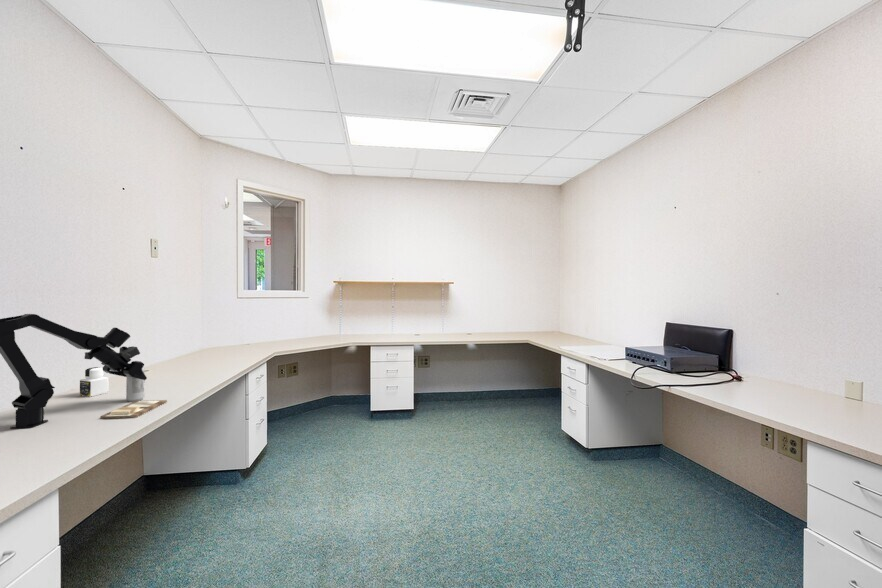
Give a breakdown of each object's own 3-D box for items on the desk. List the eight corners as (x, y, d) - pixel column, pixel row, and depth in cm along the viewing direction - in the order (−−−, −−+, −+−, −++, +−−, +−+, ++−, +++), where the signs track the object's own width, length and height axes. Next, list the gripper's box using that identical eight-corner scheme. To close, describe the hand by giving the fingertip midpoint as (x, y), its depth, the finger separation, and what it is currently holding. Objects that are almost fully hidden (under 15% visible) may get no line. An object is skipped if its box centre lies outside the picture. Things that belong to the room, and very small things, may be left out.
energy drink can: (140, 397, 161) (140, 363, 161) (147, 399, 158) (147, 364, 158) (123, 400, 155) (123, 365, 155) (130, 403, 152) (130, 367, 152)
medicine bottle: (79, 395, 162) (79, 368, 162) (98, 391, 169) (98, 365, 169) (90, 397, 160) (90, 370, 160) (108, 392, 167) (109, 366, 167)
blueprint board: (135, 418, 135) (135, 411, 135) (99, 419, 133) (99, 413, 133) (167, 402, 154) (167, 396, 154) (135, 403, 152) (135, 397, 152)
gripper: (139, 342, 149) (167, 364, 160) (111, 339, 156) (140, 361, 166) (115, 365, 142) (147, 386, 152) (88, 361, 149) (120, 382, 159)
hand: (139, 378), depth 158 cm, fingers open, 9 cm apart
